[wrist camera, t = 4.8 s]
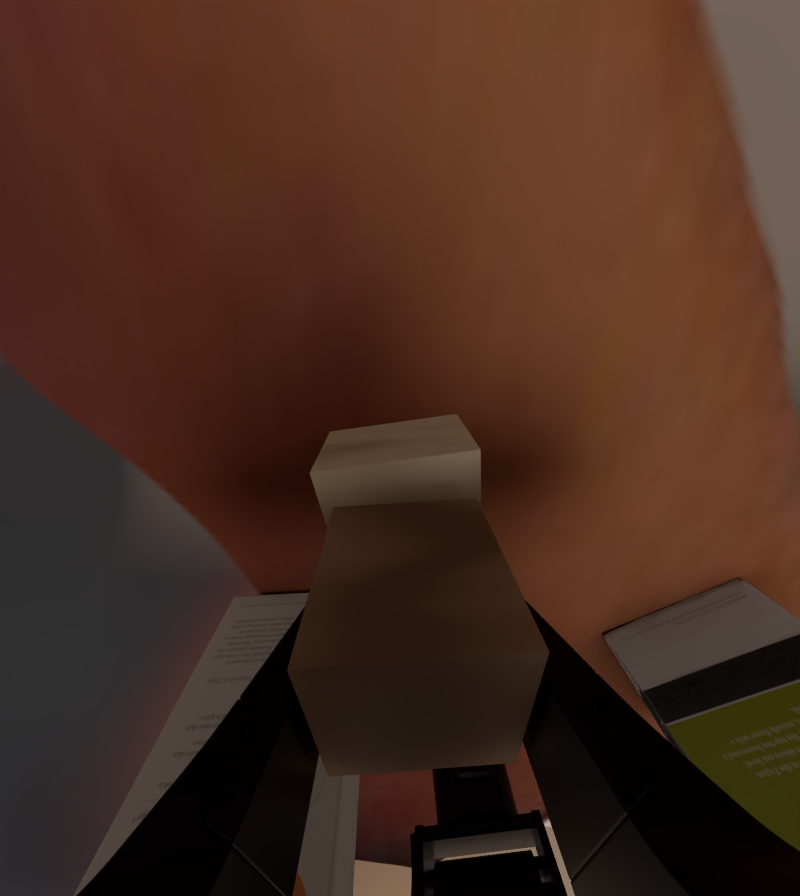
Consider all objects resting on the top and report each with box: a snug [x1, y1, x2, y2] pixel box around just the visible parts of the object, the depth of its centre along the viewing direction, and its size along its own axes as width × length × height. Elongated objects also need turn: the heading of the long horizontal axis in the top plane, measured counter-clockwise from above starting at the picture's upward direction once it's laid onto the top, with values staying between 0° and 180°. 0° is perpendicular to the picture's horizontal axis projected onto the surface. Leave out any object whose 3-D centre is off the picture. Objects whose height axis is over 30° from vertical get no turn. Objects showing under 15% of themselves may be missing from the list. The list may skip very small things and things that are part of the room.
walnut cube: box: [287, 498, 549, 777], centre depth 8 cm, size 4×4×4 cm
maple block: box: [310, 414, 481, 528], centre depth 13 cm, size 6×6×4 cm
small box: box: [74, 593, 360, 896], centre depth 13 cm, size 8×6×13 cm
